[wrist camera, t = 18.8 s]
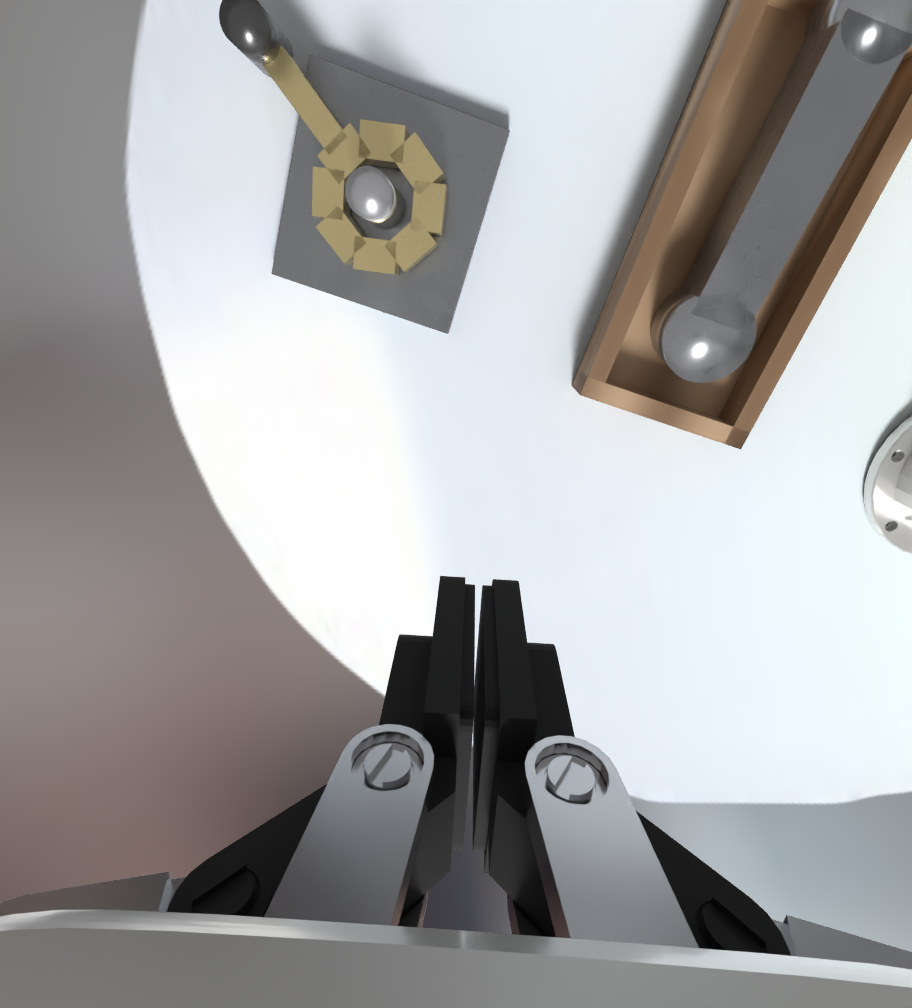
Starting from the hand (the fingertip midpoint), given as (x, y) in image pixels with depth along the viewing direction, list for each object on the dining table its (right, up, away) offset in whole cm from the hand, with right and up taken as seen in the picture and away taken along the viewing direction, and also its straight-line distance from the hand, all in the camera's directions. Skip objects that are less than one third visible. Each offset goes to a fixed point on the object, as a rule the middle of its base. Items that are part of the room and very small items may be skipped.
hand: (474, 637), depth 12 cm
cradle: (+17, +20, +23) cm, 34 cm away
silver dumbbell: (+17, +21, +20) cm, 33 cm away
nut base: (-5, +22, +23) cm, 32 cm away
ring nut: (-7, +24, +20) cm, 32 cm away
